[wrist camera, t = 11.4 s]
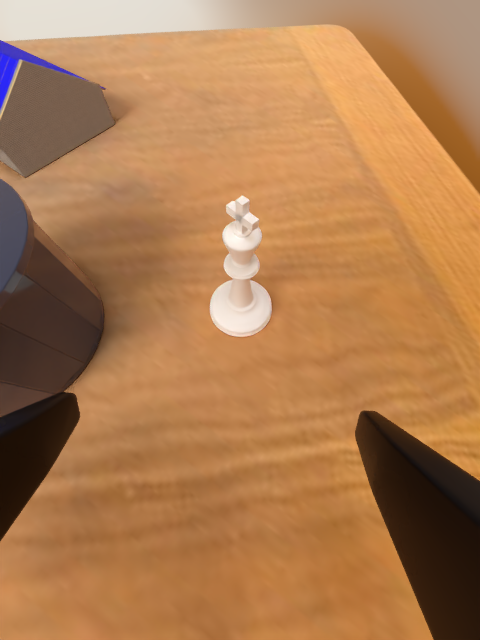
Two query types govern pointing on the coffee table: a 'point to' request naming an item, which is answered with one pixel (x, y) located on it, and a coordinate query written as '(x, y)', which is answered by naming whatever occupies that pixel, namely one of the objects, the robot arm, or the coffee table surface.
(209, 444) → the coffee table surface
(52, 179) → the coffee table surface
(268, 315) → the chess piece
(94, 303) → the pot
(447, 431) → the coffee table surface
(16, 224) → the pot lid
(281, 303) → the coffee table surface
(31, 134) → the toy house
